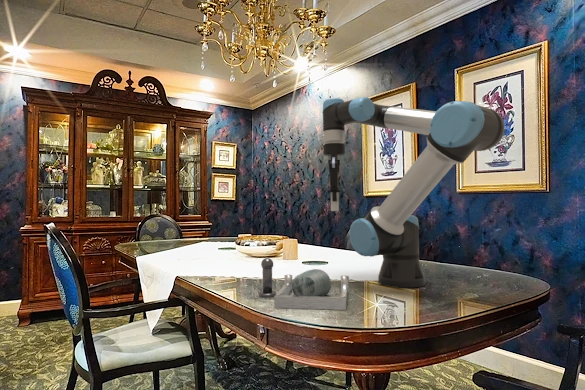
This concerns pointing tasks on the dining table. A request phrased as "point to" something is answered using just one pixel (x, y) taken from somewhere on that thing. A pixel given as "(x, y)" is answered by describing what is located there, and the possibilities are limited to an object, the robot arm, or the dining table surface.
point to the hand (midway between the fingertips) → (334, 210)
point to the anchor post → (267, 278)
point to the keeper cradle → (311, 298)
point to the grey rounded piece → (311, 283)
